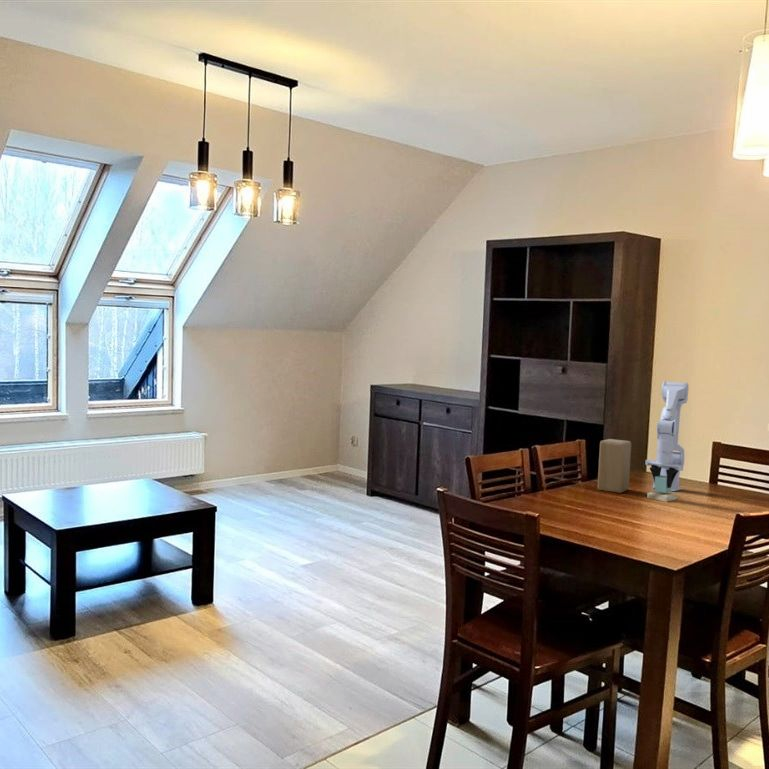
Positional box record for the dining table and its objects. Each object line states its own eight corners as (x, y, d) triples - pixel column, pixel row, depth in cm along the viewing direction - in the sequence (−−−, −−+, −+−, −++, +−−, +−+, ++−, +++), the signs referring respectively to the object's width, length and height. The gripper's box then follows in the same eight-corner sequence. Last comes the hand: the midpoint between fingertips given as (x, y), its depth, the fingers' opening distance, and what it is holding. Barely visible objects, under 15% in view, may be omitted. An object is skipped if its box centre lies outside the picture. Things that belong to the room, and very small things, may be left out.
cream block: (647, 497, 296) (647, 492, 296) (657, 495, 301) (657, 490, 301) (666, 501, 290) (667, 496, 290) (677, 499, 295) (677, 494, 295)
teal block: (654, 490, 296) (655, 476, 295) (660, 489, 299) (661, 475, 298) (665, 492, 292) (666, 478, 292) (671, 491, 295) (671, 477, 295)
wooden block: (605, 486, 316) (607, 438, 315) (629, 490, 310) (632, 441, 309) (596, 490, 308) (599, 440, 307) (621, 493, 302) (623, 443, 301)
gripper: (642, 449, 297) (640, 484, 298) (677, 454, 286) (675, 490, 287) (651, 448, 302) (649, 482, 303) (686, 453, 291) (684, 488, 292)
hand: (662, 486), depth 295 cm, fingers closed on teal block, 4 cm apart
